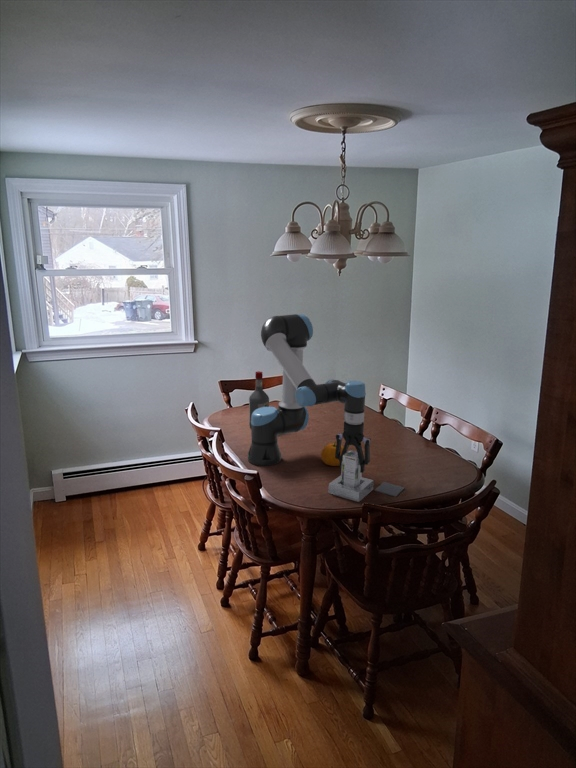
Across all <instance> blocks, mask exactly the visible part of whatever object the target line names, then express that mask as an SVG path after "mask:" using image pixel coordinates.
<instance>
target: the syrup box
mask: <svg viewBox="0 0 576 768" xmlns="http://www.w3.org/2000/svg"><path fill="white" fill-rule="evenodd" d="M359 464H360V461H359V457H358V453H357V451H355V450H347V453H345V454H344V455H343V464H342V468H341V469H342V485H346V486H349V487H353V488H357V487H358V486H360V485H361V480H360V481H358V465H359Z"/></svg>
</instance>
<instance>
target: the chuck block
mask: <svg viewBox="0 0 576 768" xmlns="http://www.w3.org/2000/svg"><path fill="white" fill-rule="evenodd" d="M374 482H375V481H374V479H370V478H366V477H363V476H362V479H361V485H360V486H358V487H357V488H353V487H349V486H346V485H342V477H341V474H340V475H339V476H338V477H336V478H334V479H333V480H331V482H329V483H328V494H329V495H332V494H333V496H337V497H339V498H344V499H347V500H350V501H353V502H356V503H357V502H358V503H360V501H362V500H363V499H364V498H365V497H366V496H368V494H369V493H371V492H372V491H373V490H374Z"/></svg>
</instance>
